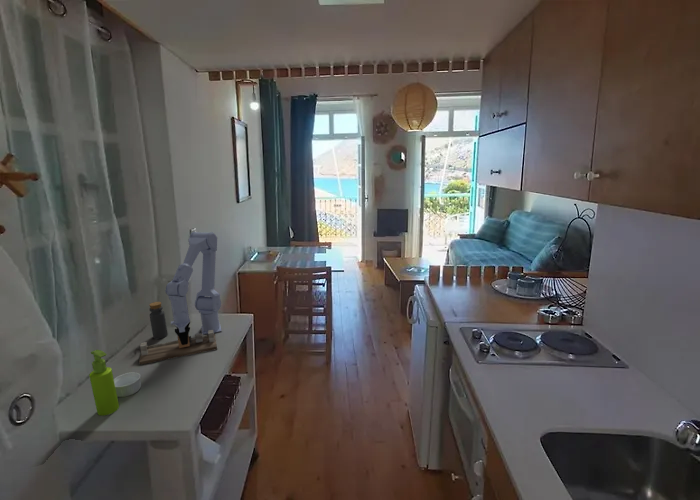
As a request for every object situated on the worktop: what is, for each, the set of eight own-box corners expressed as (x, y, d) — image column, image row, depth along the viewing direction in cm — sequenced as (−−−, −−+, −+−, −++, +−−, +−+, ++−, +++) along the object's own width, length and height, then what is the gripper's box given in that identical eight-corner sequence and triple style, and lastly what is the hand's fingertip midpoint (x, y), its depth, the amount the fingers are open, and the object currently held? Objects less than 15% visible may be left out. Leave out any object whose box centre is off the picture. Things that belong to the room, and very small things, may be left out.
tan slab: (142, 350, 165) (140, 338, 164) (215, 336, 175) (213, 325, 173) (139, 364, 153) (137, 352, 152) (217, 349, 163) (215, 337, 162)
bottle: (170, 334, 178) (165, 302, 175) (158, 340, 173) (152, 307, 170) (162, 331, 181) (157, 300, 178) (150, 337, 177) (144, 304, 173)
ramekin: (126, 400, 131) (124, 388, 130) (106, 395, 134) (104, 384, 133) (148, 385, 139) (146, 374, 138) (128, 381, 142) (126, 370, 141)
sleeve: (179, 343, 165) (177, 333, 164) (189, 341, 167) (188, 331, 166) (179, 348, 162) (177, 337, 160) (189, 346, 163) (188, 335, 162)
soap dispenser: (105, 419, 122) (92, 358, 117) (93, 412, 125) (80, 353, 121) (124, 408, 127) (113, 349, 122) (112, 402, 130) (101, 345, 125)
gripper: (169, 306, 166) (174, 336, 169) (168, 318, 153) (173, 351, 156) (188, 303, 168) (192, 333, 172) (188, 315, 155) (193, 347, 158)
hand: (184, 341), depth 164 cm, fingers closed on sleeve, 4 cm apart
